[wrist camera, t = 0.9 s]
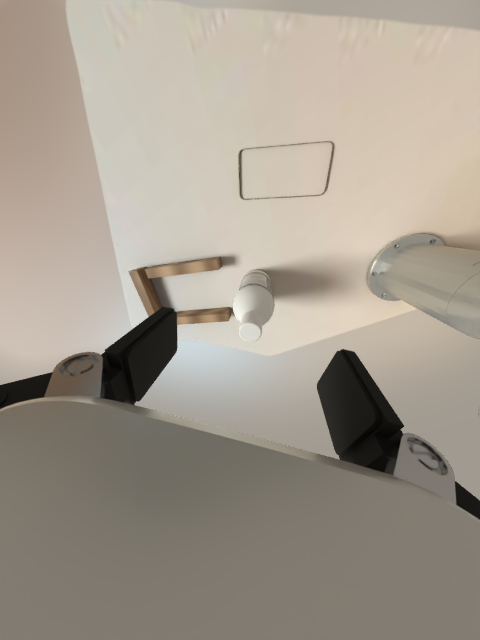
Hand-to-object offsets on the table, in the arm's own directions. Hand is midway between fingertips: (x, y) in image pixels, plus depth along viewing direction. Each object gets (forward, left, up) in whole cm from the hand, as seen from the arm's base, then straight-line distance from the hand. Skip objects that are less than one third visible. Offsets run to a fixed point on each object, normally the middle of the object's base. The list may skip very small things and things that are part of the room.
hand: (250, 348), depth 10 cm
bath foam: (+1, +5, -30) cm, 31 cm away
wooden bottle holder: (+18, +5, -30) cm, 35 cm away
